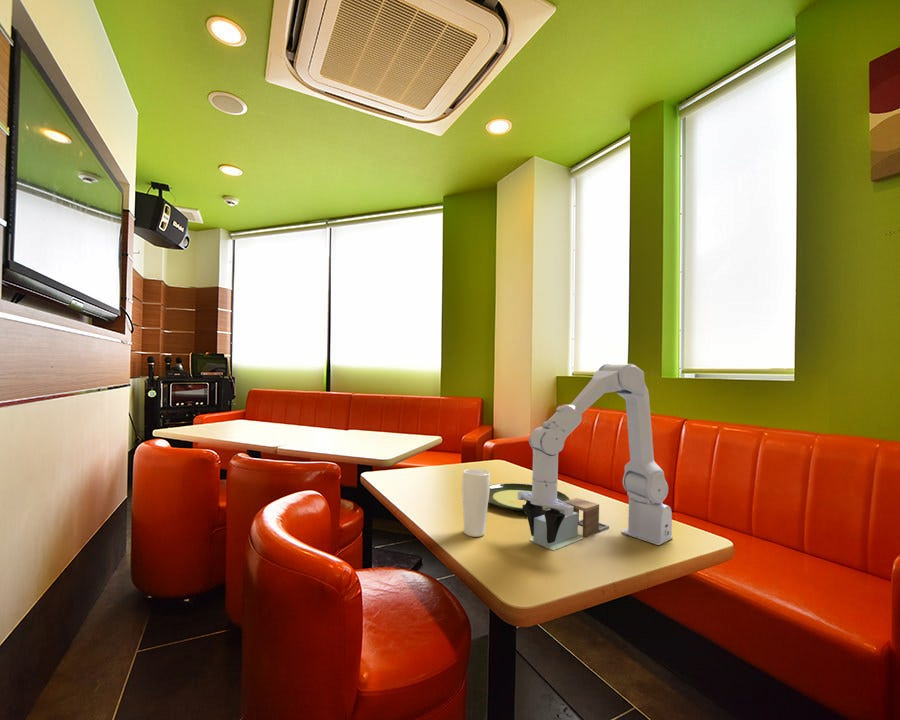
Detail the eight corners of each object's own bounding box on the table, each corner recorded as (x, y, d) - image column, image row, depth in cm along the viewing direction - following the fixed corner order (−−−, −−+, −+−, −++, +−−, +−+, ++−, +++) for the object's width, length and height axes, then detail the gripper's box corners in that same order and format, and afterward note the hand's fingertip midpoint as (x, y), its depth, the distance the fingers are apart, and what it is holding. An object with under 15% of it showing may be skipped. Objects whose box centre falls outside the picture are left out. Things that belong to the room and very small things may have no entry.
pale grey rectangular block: (577, 535, 102) (578, 513, 102) (547, 547, 94) (547, 522, 94) (563, 530, 105) (564, 508, 105) (533, 541, 97) (533, 517, 97)
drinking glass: (465, 540, 98) (467, 475, 98) (457, 529, 104) (459, 468, 105) (492, 538, 99) (494, 474, 100) (482, 527, 106) (484, 468, 106)
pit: (609, 528, 109) (609, 525, 109) (600, 531, 106) (600, 529, 106) (585, 520, 114) (585, 518, 114) (576, 523, 111) (576, 521, 111)
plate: (576, 523, 112) (576, 513, 112) (473, 513, 117) (474, 504, 117) (564, 494, 140) (564, 486, 140) (481, 487, 145) (482, 480, 145)
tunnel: (598, 532, 106) (599, 504, 106) (585, 537, 102) (586, 508, 102) (575, 524, 111) (576, 497, 111) (562, 529, 107) (563, 501, 107)
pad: (583, 538, 101) (583, 537, 101) (553, 550, 93) (553, 549, 93) (559, 529, 106) (559, 528, 106) (529, 540, 99) (529, 539, 99)
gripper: (509, 475, 100) (508, 532, 100) (560, 489, 89) (558, 553, 88) (528, 471, 104) (527, 526, 104) (579, 484, 93) (577, 546, 93)
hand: (543, 538), depth 96 cm, fingers closed on pale grey rectangular block, 4 cm apart
